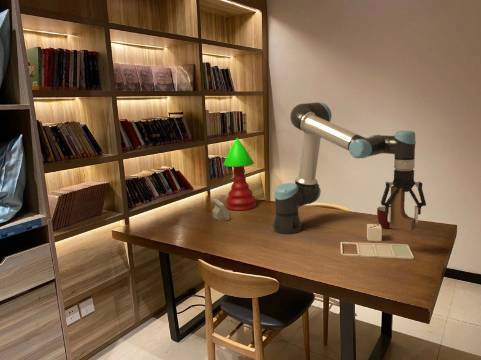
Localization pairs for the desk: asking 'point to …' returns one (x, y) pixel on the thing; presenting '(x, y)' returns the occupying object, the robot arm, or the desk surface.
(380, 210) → the mug
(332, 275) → the desk surface
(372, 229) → the die
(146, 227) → the desk surface
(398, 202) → the wooden block
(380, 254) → the track board
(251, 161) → the table lamp
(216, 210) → the grey lumpy piece
